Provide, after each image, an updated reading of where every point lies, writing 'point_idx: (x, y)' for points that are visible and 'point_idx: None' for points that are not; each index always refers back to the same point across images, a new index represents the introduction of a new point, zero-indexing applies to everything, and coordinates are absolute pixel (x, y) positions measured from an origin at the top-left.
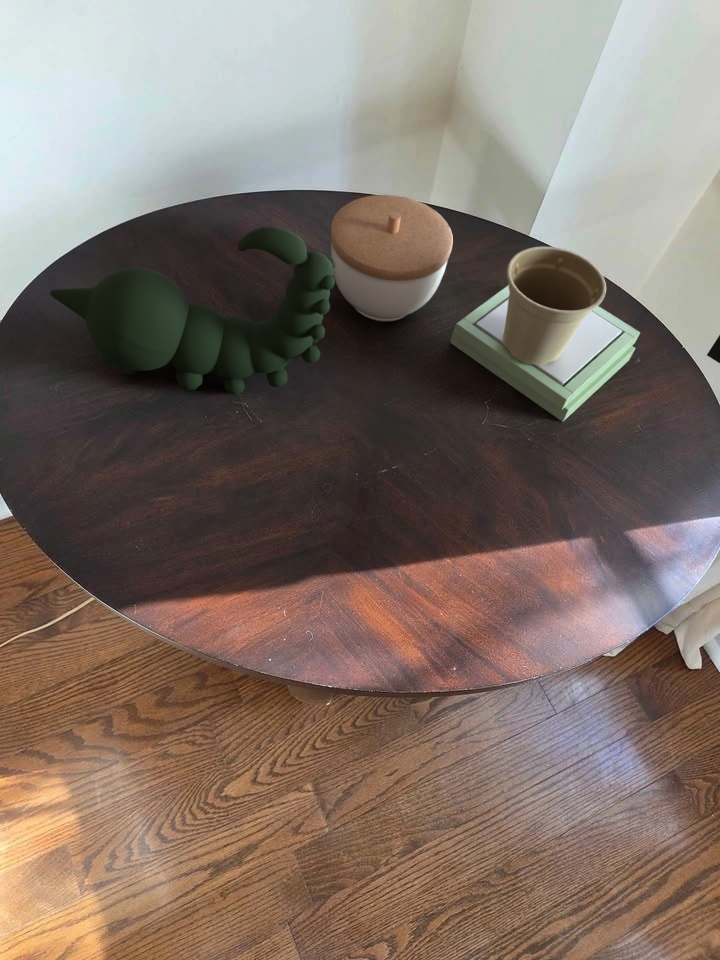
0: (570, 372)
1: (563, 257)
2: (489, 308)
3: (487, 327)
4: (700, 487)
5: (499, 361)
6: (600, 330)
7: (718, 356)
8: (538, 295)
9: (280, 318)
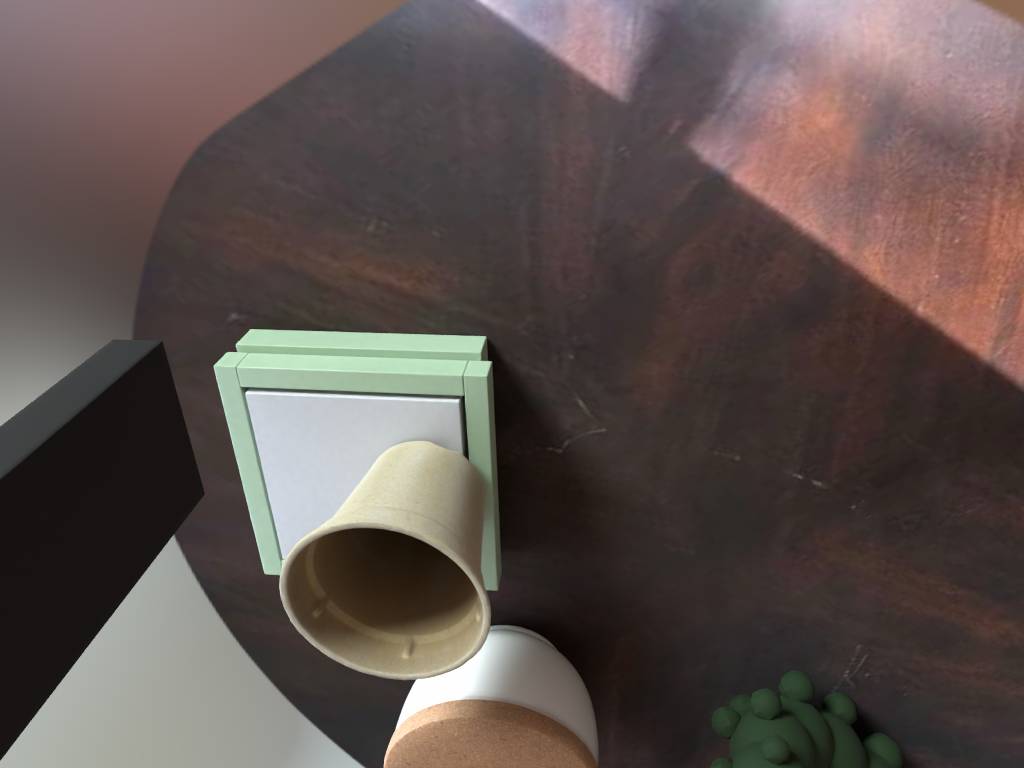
0: (425, 406)
1: (309, 616)
2: None
3: None
4: (395, 41)
5: (496, 497)
6: (284, 421)
7: None
8: (366, 561)
9: None
